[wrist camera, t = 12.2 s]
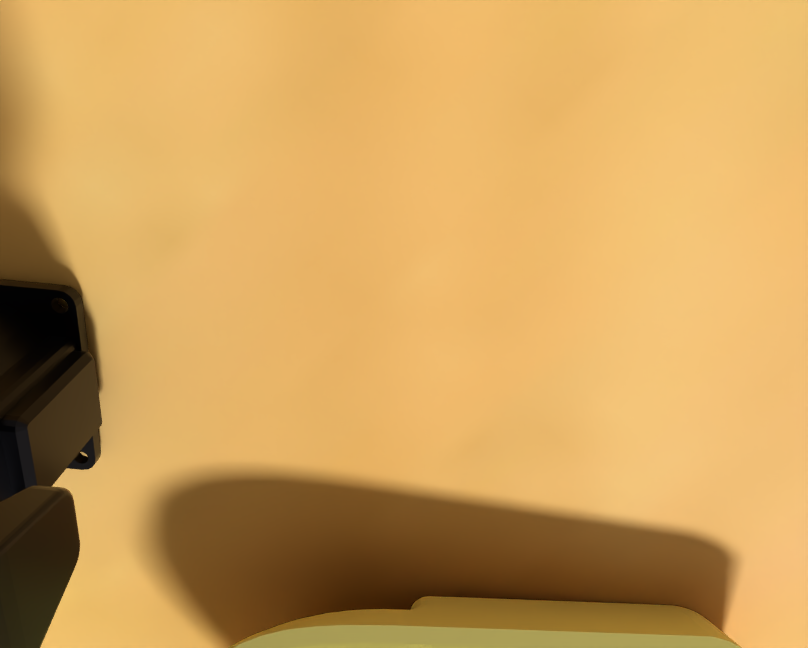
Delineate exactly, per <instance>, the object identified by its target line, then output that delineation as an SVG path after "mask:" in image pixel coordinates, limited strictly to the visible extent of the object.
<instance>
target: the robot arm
mask: <svg viewBox="0 0 808 648" xmlns="http://www.w3.org/2000/svg"><path fill="white" fill-rule="evenodd" d="M58 298H61V299H63V300H65V301H66V302H67V305H68V308H65V307H62V306H61V305H60V304H59V302H58ZM101 424H102V418H101V409H100V401H99V393H98V384H97V376H96V368H95V360H94V358H93V357H92V355H91V354H90V353H89V351H88V343H87V335H86V327H85V319H84V311H83V302H82V299H81V296H80V295H79V294H78V292H77V291H76V290H74V289H73V288H71V287H69V286H65V285H55V284H45V283H34V282H23V281H12V280H1V279H0V648H40V647H41V644H42V642H43V640H44V637H45V635H46V633H47V631H48V628H49V626H50V624H51V621H52V619H53V617H54V614H55V612H56V610H57V607H58V605H59V603H60V601H61V598H62V596H63V594H64V591H65V589H66V587H67V584H68V582H69V580H70V577H71V575H72V573H73V571H74V568H75V566H76V563H77V560H78V557H79V551H80V540H79V533H78V526H77V520H76V513H75V506H74V500H73V496H72V494H71V492H70V491H69V490H67V489H65V488H60V487H51V486H52V485H53V484H54V483H55V481H56V480H57V479H58V478H59V477H60V475H61V474H62V473H63V472H64V470H65V469H66V468H71V469H81V470H84V469H89V468H91V467H93V465H94V464H95V463H96V461H97V460H98V459H99V457H100V455H101V449H100V440H99V432H98V428H99V427H100V426H101ZM80 451H82V452H84V453H85V454H87V456H88V457H86V456H83V455H82V454H81V453H80Z"/></svg>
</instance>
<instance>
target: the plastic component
mask: <svg viewBox="0 0 808 648" xmlns="http://www.w3.org/2000/svg"><path fill="white" fill-rule="evenodd" d="M229 648H741V647H740V646H739V645H738V644H736V643H735V642H734V641H733V640H732V639H730V638H729V637H728V636H727V635H726V634H724V633H723V632H722V631H721V630H719V629H718V628H717V627H716V626H715V625H713V624H712V623H711V622H710V621H708V620H707V619H706V618H704V617H703V616H702V615H700V614H698V613H696V612H694V611H692V610H690V609H687V608H683V607H679V606H673V605H655V604H628V603H601V602H575V601H548V600H521V599H494V598H467V597H441V596H426V597H422V598H420V599H418V600H417V601H415V602H414V603H413V605H412V607H411V609H410V610H399V609H362V610H349V611H340V612H332V613H325V614H320V615H316V616H311V617H306V618H301V619H297V620H294V621H290V622H287V623H284V624H281V625H278V626H275V627H273V628H270V629H268V630H264V631H262V632H259V633H257V634H254V635H252V636H250V637H247V638H245V639H243V640H241V641H239V642H237V643H236V644H234V645H232V646H231V647H229Z"/></svg>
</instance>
